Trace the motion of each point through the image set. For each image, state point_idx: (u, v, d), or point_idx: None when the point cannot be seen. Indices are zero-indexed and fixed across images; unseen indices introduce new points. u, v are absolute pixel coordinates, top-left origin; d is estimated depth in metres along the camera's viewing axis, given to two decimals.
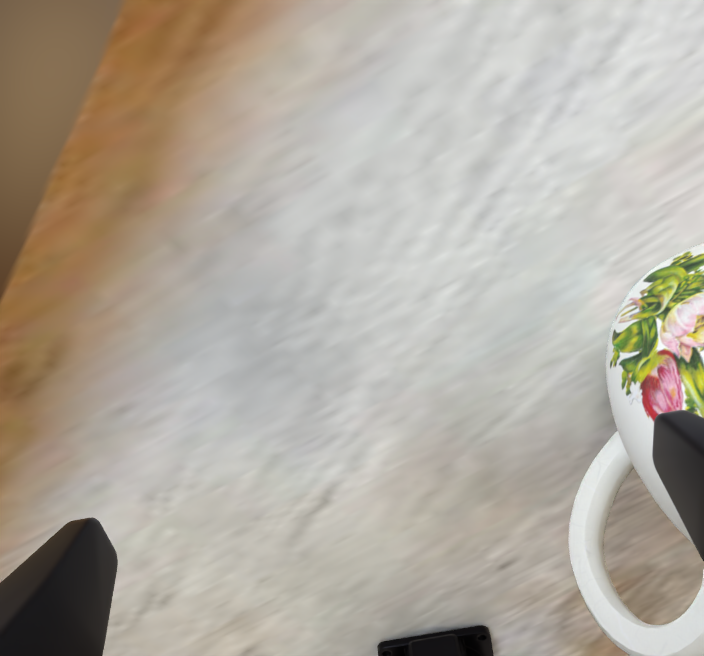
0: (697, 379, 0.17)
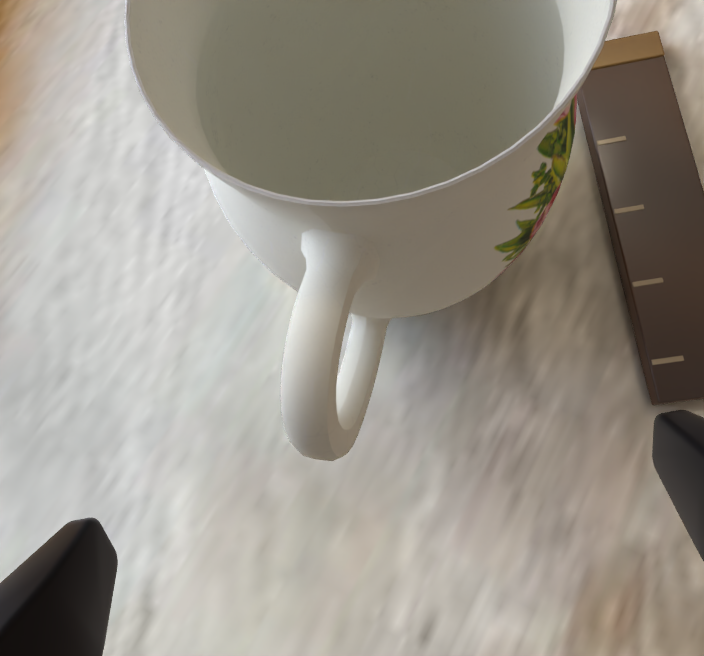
0: (208, 136, 0.18)
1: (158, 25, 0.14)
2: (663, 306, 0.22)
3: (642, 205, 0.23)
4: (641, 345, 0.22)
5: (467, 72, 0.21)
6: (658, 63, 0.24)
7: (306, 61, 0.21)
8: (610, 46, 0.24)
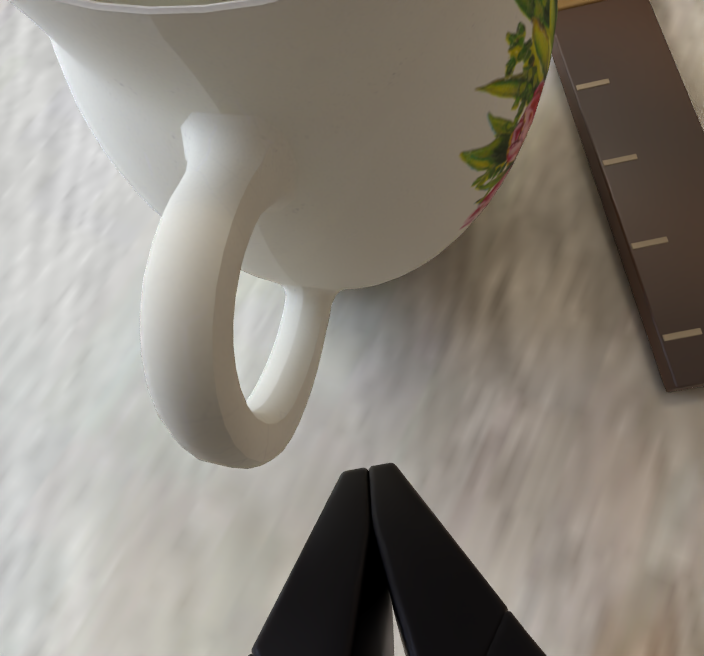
0: None
1: None
2: (670, 270, 0.18)
3: (635, 154, 0.19)
4: (647, 319, 0.18)
5: None
6: None
7: None
8: None
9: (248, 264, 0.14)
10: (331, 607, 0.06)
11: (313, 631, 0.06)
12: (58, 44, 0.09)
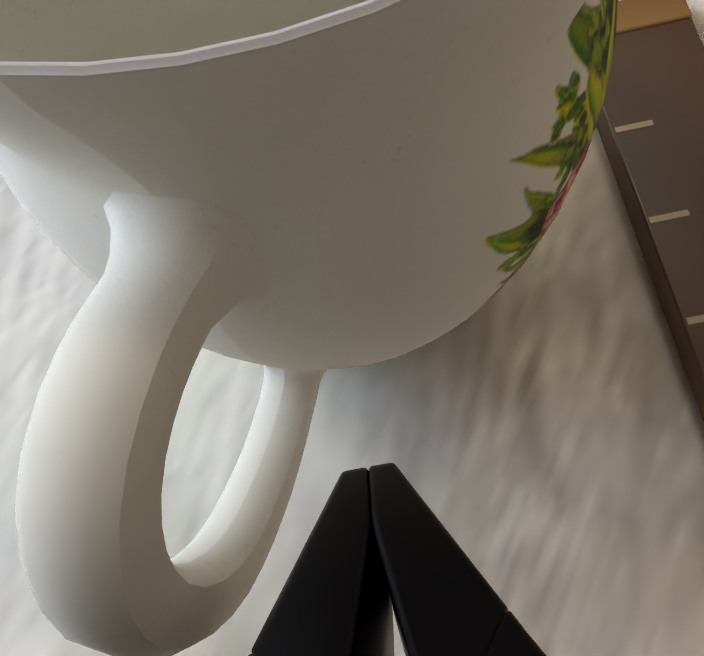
0: None
1: None
2: None
3: (687, 210, 0.16)
4: None
5: None
6: (684, 27, 0.18)
7: (201, 0, 0.15)
8: (618, 8, 0.18)
9: (213, 350, 0.11)
10: (331, 607, 0.06)
11: (313, 631, 0.06)
12: None
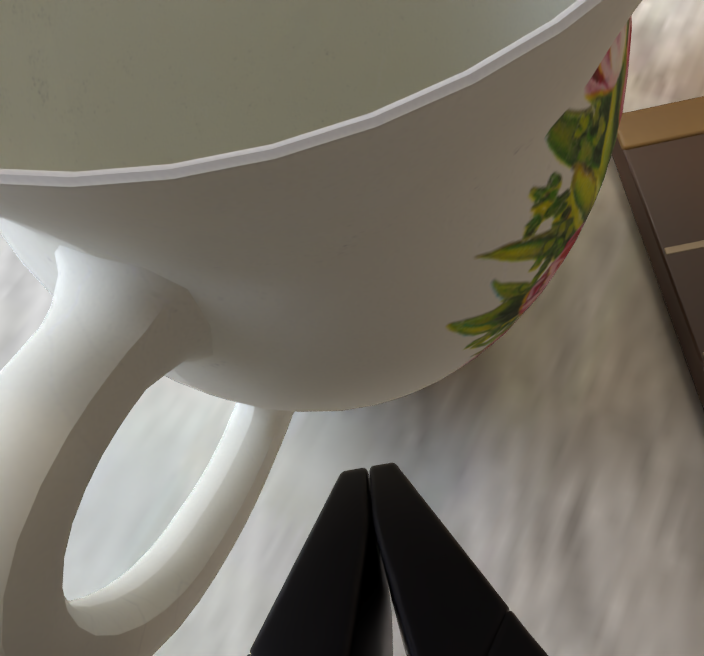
0: (14, 82, 0.11)
1: None
2: None
3: None
4: None
5: (458, 58, 0.15)
6: None
7: (227, 13, 0.15)
8: (666, 112, 0.17)
9: None
10: (330, 608, 0.06)
11: (312, 632, 0.06)
12: None
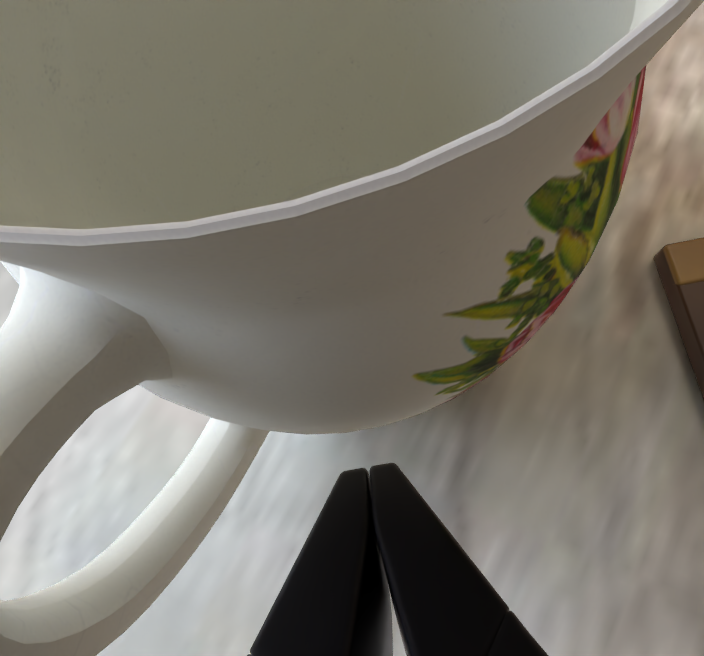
0: (24, 69, 0.11)
1: None
2: None
3: None
4: None
5: (483, 82, 0.14)
6: None
7: (253, 13, 0.14)
8: None
9: None
10: (330, 607, 0.06)
11: (312, 631, 0.06)
12: None
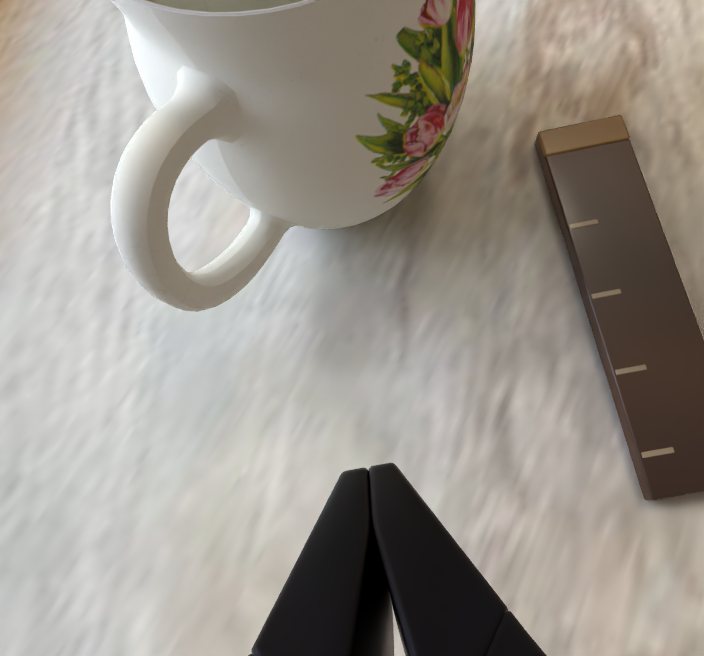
0: None
1: None
2: (648, 394, 0.21)
3: (619, 289, 0.22)
4: (629, 436, 0.21)
5: None
6: (624, 146, 0.24)
7: None
8: (575, 129, 0.24)
9: (219, 180, 0.19)
10: (331, 607, 0.06)
11: (313, 631, 0.06)
12: None
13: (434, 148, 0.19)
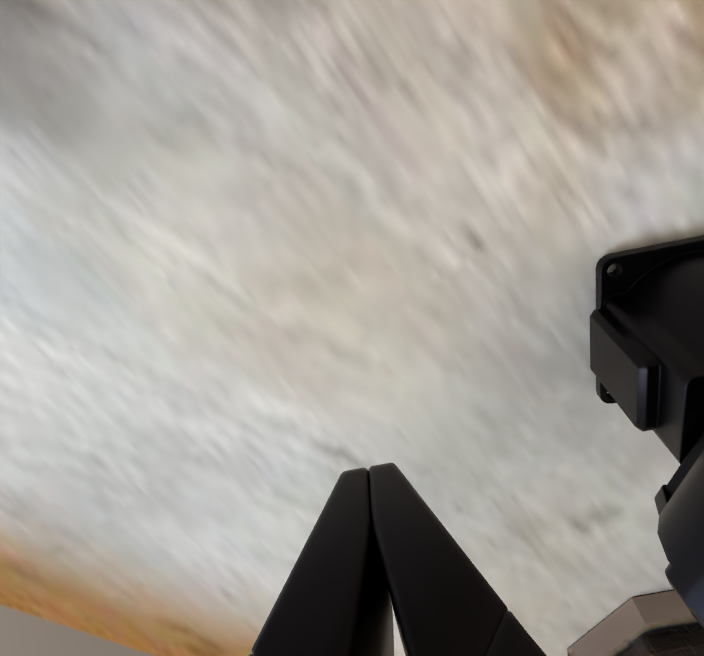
0: None
1: None
2: None
3: None
4: None
5: None
6: None
7: None
8: None
9: None
10: (331, 607, 0.06)
11: (313, 631, 0.06)
12: None
13: None
